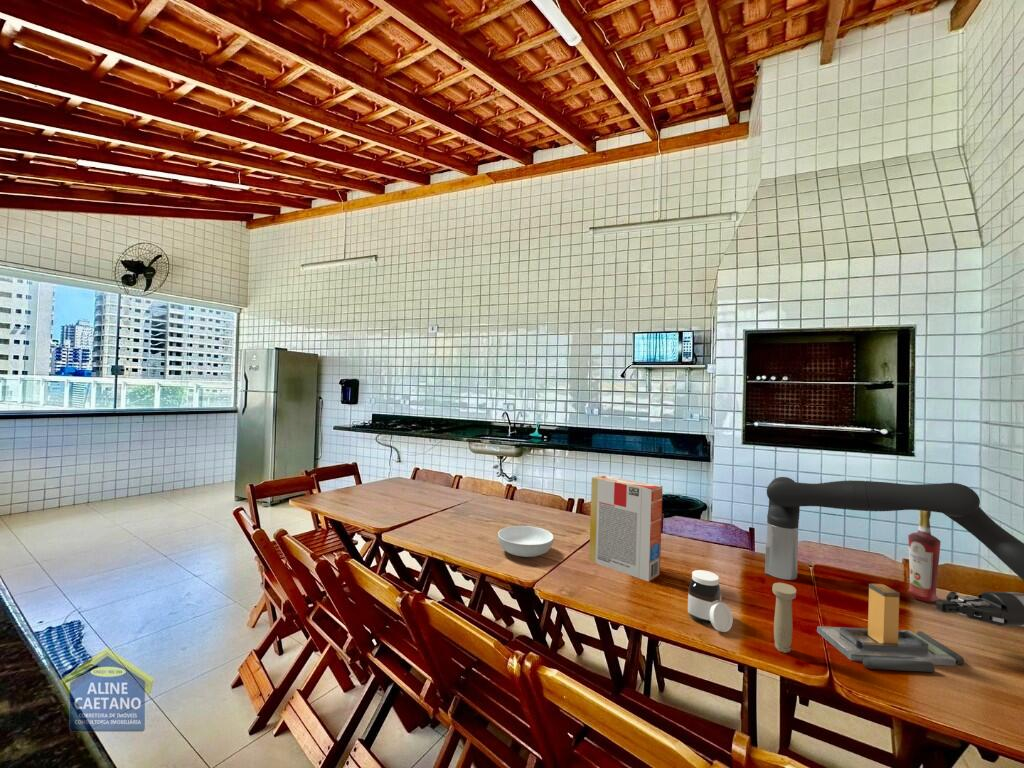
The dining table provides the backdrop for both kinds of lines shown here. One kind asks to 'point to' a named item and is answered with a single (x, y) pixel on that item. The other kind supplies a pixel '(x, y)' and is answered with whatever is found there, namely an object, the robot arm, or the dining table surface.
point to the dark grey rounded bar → (942, 647)
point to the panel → (884, 646)
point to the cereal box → (626, 526)
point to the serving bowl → (525, 540)
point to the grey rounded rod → (899, 665)
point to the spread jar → (708, 601)
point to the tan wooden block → (883, 614)
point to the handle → (783, 616)
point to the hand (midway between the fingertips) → (939, 606)
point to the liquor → (923, 560)
